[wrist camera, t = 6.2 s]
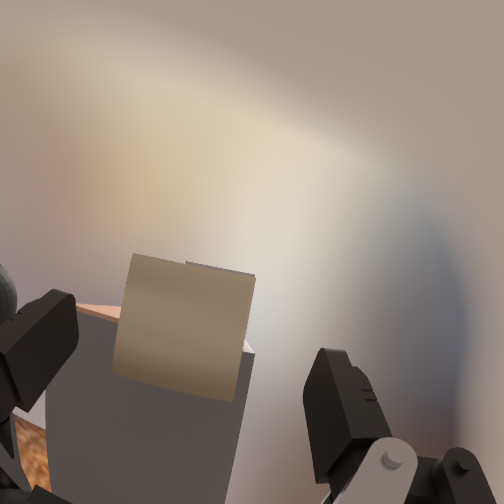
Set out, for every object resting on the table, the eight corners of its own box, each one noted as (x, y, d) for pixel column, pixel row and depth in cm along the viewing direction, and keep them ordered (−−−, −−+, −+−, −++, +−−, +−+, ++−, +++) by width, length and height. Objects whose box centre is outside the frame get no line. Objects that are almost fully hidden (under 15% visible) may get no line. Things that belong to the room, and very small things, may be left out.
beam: (274, 407, 6) (308, 207, 7) (77, 361, 6) (120, 172, 7) (238, 336, 26) (248, 282, 27) (183, 326, 26) (194, 272, 27)
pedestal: (197, 613, 9) (256, 348, 16) (76, 579, 9) (55, 298, 16) (200, 563, 19) (244, 334, 26) (100, 537, 19) (109, 304, 25)
